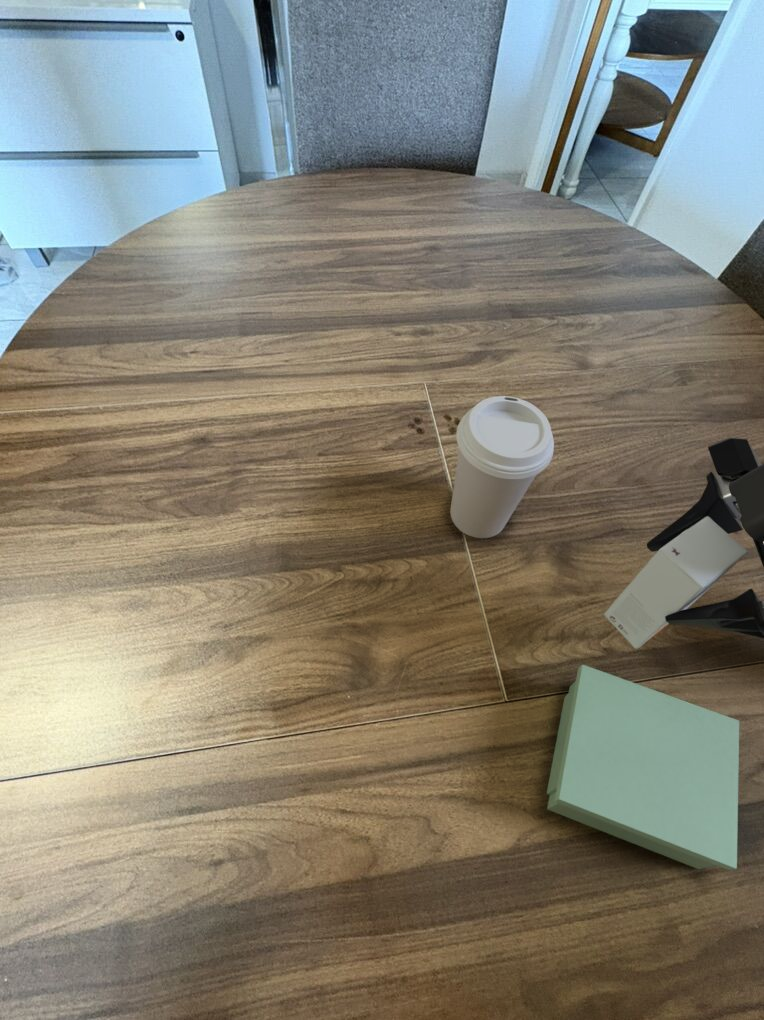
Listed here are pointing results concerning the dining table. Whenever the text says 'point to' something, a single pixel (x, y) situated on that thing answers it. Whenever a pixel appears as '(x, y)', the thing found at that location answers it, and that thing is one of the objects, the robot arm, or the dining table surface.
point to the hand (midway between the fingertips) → (657, 582)
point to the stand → (648, 769)
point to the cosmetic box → (674, 580)
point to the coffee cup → (497, 462)
